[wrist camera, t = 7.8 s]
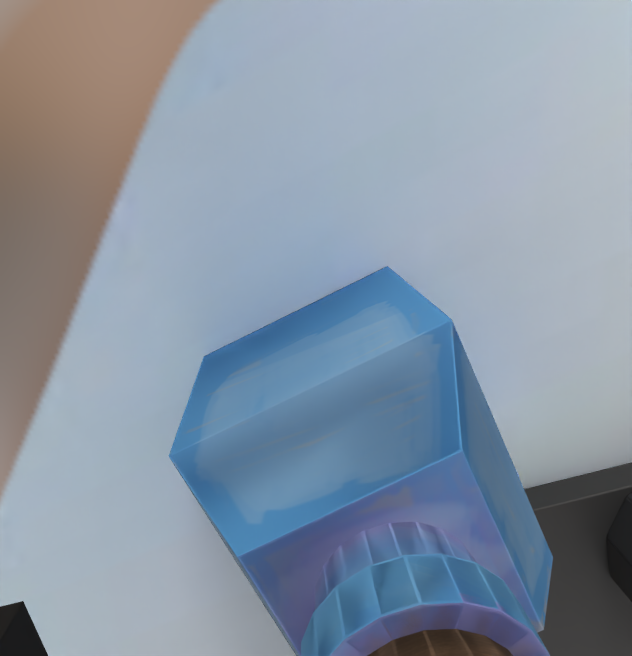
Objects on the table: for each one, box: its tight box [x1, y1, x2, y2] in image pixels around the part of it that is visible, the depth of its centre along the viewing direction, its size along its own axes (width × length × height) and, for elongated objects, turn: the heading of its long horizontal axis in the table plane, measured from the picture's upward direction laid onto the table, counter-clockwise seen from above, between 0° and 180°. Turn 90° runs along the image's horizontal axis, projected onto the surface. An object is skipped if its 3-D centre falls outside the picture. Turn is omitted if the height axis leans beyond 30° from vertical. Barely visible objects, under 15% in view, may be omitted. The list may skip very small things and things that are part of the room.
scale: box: [524, 463, 632, 656], centre depth 20 cm, size 12×14×3 cm
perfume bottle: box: [169, 266, 553, 656], centre depth 12 cm, size 6×6×12 cm
